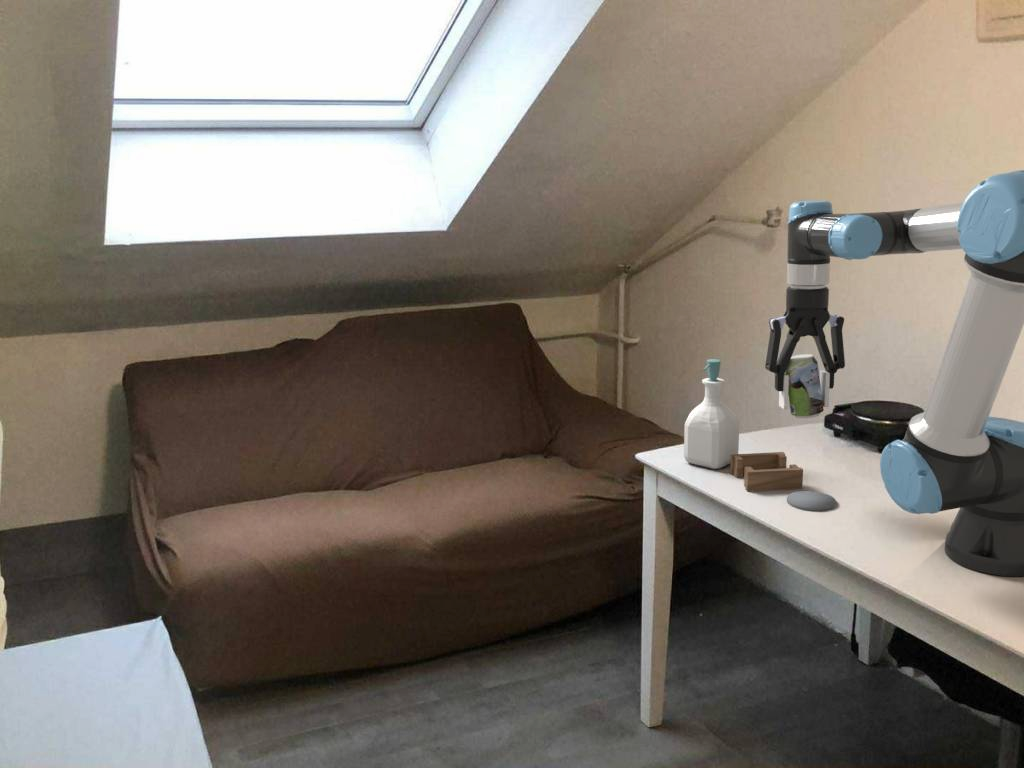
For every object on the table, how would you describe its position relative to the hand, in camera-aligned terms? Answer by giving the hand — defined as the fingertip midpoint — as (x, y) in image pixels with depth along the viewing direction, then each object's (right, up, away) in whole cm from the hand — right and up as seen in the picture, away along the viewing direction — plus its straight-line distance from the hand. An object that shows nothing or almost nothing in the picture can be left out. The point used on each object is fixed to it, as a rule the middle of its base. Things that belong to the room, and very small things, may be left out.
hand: (803, 406), depth 182 cm
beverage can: (0, -2, +1) cm, 2 cm away
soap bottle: (-12, -13, +26) cm, 31 cm away
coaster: (+2, -18, +2) cm, 19 cm away
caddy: (-4, -16, +14) cm, 21 cm away
